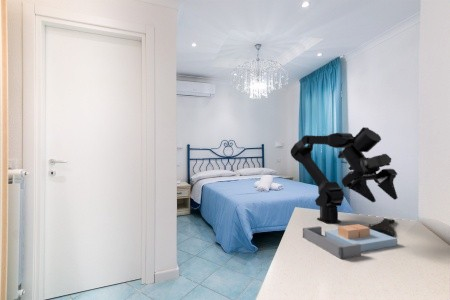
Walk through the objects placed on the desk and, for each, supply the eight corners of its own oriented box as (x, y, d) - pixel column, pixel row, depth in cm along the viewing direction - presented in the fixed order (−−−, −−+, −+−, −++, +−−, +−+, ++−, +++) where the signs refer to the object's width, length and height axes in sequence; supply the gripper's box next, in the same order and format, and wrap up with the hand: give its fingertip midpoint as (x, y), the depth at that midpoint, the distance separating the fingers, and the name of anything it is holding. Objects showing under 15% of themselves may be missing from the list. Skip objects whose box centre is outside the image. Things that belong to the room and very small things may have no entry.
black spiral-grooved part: (403, 216, 91) (391, 228, 73) (403, 226, 91) (391, 239, 73) (378, 212, 97) (362, 222, 79) (378, 221, 97) (361, 233, 79)
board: (324, 237, 75) (324, 230, 75) (362, 231, 80) (362, 226, 80) (355, 252, 64) (355, 245, 64) (397, 245, 69) (397, 238, 69)
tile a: (349, 233, 73) (349, 225, 73) (358, 231, 75) (358, 224, 75) (359, 237, 70) (359, 229, 70) (369, 236, 71) (369, 228, 71)
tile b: (337, 234, 72) (337, 226, 72) (347, 233, 73) (347, 225, 73) (348, 239, 68) (348, 230, 68) (358, 237, 70) (358, 229, 70)
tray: (302, 237, 75) (302, 228, 75) (319, 235, 77) (319, 226, 77) (340, 259, 60) (340, 247, 60) (361, 255, 62) (360, 244, 62)
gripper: (350, 146, 72) (382, 189, 62) (393, 145, 78) (428, 184, 68) (330, 167, 80) (356, 208, 71) (370, 164, 86) (399, 202, 76)
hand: (385, 200), depth 71 cm, fingers open, 9 cm apart
